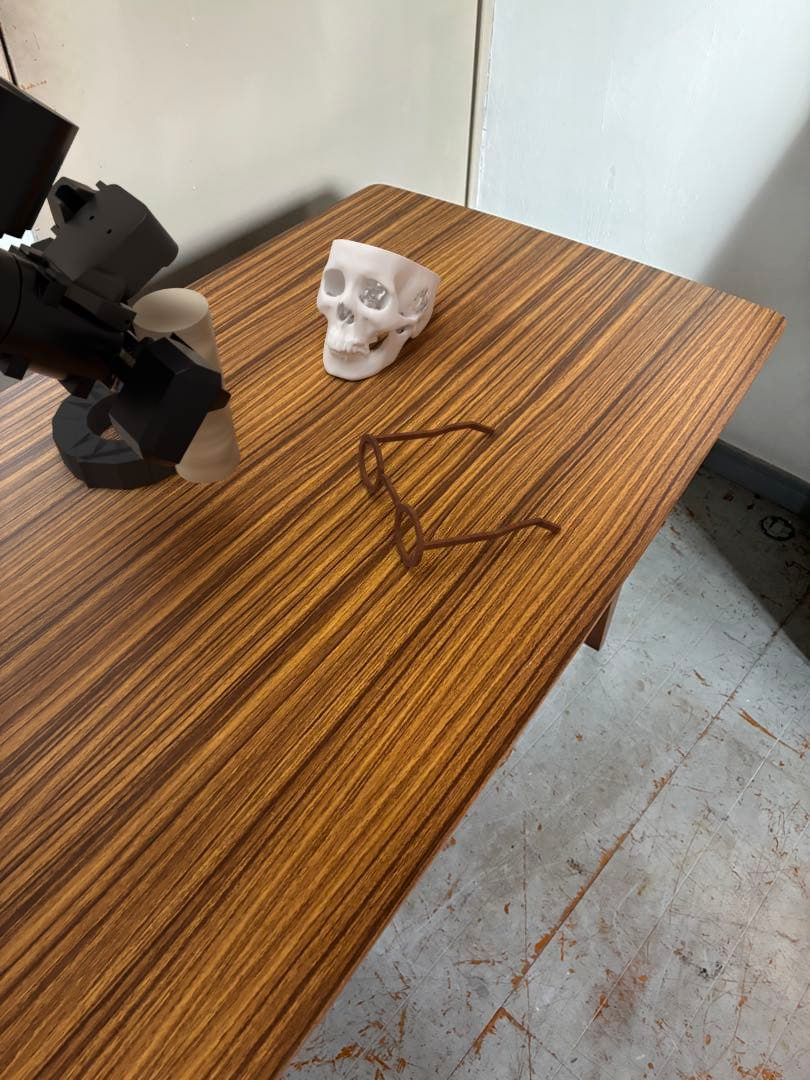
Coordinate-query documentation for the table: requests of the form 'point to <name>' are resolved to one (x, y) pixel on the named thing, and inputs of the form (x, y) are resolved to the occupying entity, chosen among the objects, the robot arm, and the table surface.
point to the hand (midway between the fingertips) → (207, 382)
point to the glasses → (407, 508)
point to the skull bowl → (371, 306)
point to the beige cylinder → (192, 322)
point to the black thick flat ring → (99, 444)
